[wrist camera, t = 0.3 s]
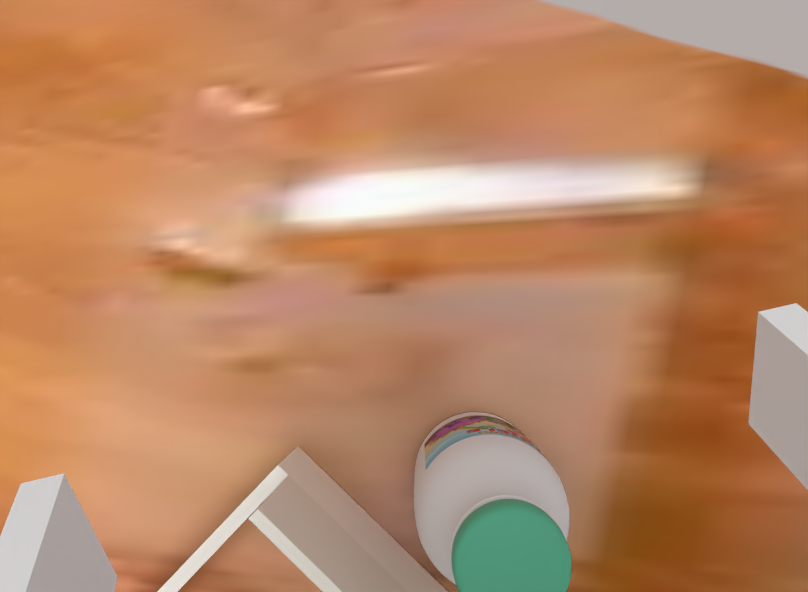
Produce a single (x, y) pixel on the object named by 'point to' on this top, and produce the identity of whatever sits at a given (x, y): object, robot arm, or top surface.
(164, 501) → the top surface
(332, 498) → the carton
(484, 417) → the milk bottle
